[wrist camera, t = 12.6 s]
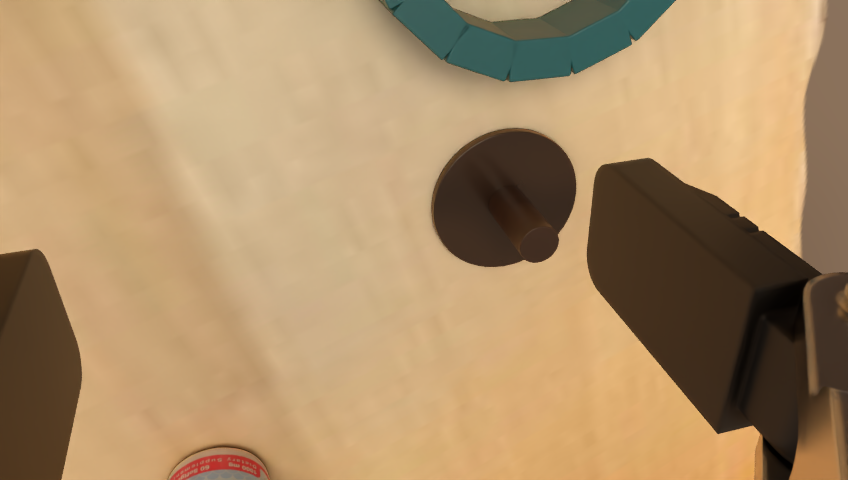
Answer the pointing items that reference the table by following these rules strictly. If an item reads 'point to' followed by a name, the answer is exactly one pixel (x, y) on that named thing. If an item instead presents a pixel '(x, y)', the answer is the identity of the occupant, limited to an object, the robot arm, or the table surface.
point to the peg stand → (504, 198)
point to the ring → (529, 35)
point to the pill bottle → (220, 466)
